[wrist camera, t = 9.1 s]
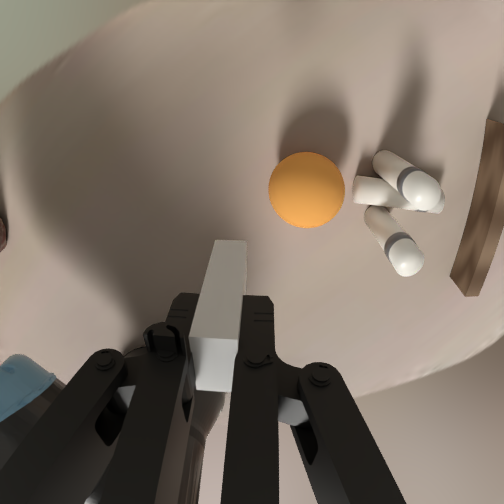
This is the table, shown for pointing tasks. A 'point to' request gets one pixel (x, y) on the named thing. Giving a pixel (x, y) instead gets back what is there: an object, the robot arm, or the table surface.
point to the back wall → (483, 216)
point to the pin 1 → (407, 180)
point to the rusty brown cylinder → (2, 236)
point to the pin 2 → (394, 241)
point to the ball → (306, 189)
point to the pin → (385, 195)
